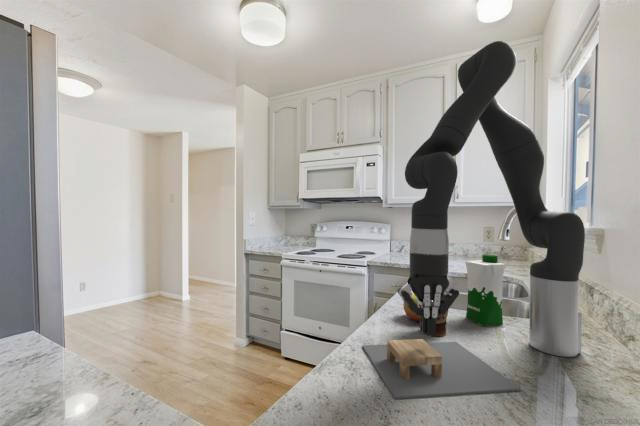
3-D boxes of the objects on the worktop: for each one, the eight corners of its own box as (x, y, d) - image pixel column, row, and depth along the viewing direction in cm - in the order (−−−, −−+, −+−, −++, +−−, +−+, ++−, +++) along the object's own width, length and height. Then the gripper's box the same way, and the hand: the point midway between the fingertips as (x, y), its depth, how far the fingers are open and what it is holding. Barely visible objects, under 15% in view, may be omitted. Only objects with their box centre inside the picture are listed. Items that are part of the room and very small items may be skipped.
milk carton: (508, 325, 87) (508, 257, 87) (483, 328, 84) (484, 258, 84) (483, 315, 95) (484, 253, 95) (460, 317, 92) (461, 254, 93)
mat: (455, 343, 73) (456, 341, 73) (521, 390, 53) (521, 388, 53) (362, 347, 70) (362, 345, 70) (394, 399, 50) (394, 396, 50)
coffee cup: (454, 340, 75) (455, 289, 75) (420, 337, 76) (420, 287, 77) (446, 328, 83) (447, 282, 84) (416, 325, 85) (416, 280, 85)
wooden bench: (422, 339, 65) (387, 340, 64) (442, 356, 57) (402, 358, 56) (421, 357, 65) (387, 358, 64) (441, 377, 57) (402, 379, 56)
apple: (440, 318, 91) (440, 292, 92) (433, 328, 83) (434, 299, 83) (408, 312, 97) (408, 287, 97) (399, 320, 88) (399, 294, 89)
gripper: (448, 248, 65) (447, 326, 65) (391, 248, 64) (390, 328, 63) (469, 253, 58) (468, 341, 58) (406, 252, 56) (404, 343, 56)
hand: (427, 334), depth 61 cm, fingers closed
